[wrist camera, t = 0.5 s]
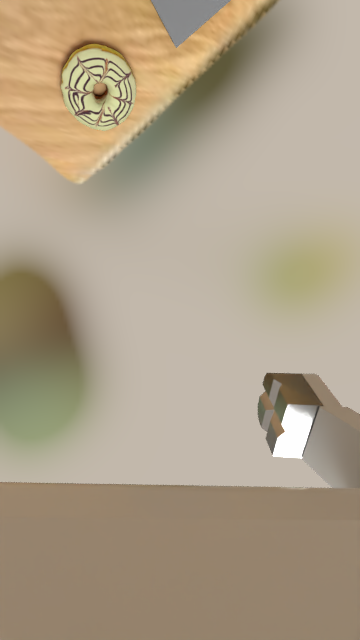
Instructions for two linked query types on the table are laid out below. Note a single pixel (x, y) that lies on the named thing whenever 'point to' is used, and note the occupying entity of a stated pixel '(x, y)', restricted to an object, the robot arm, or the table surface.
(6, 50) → the table surface
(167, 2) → the mat
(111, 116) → the decorated donut
